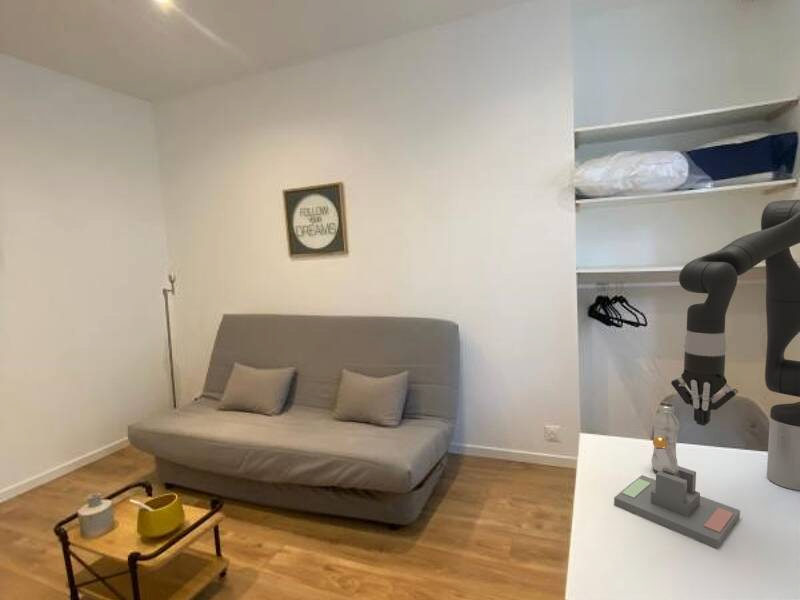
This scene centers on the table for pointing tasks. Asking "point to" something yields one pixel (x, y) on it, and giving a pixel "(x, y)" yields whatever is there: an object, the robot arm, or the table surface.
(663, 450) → the lever
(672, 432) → the plastic bottle
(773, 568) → the table surface
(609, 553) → the table surface
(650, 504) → the switch box
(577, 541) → the table surface
